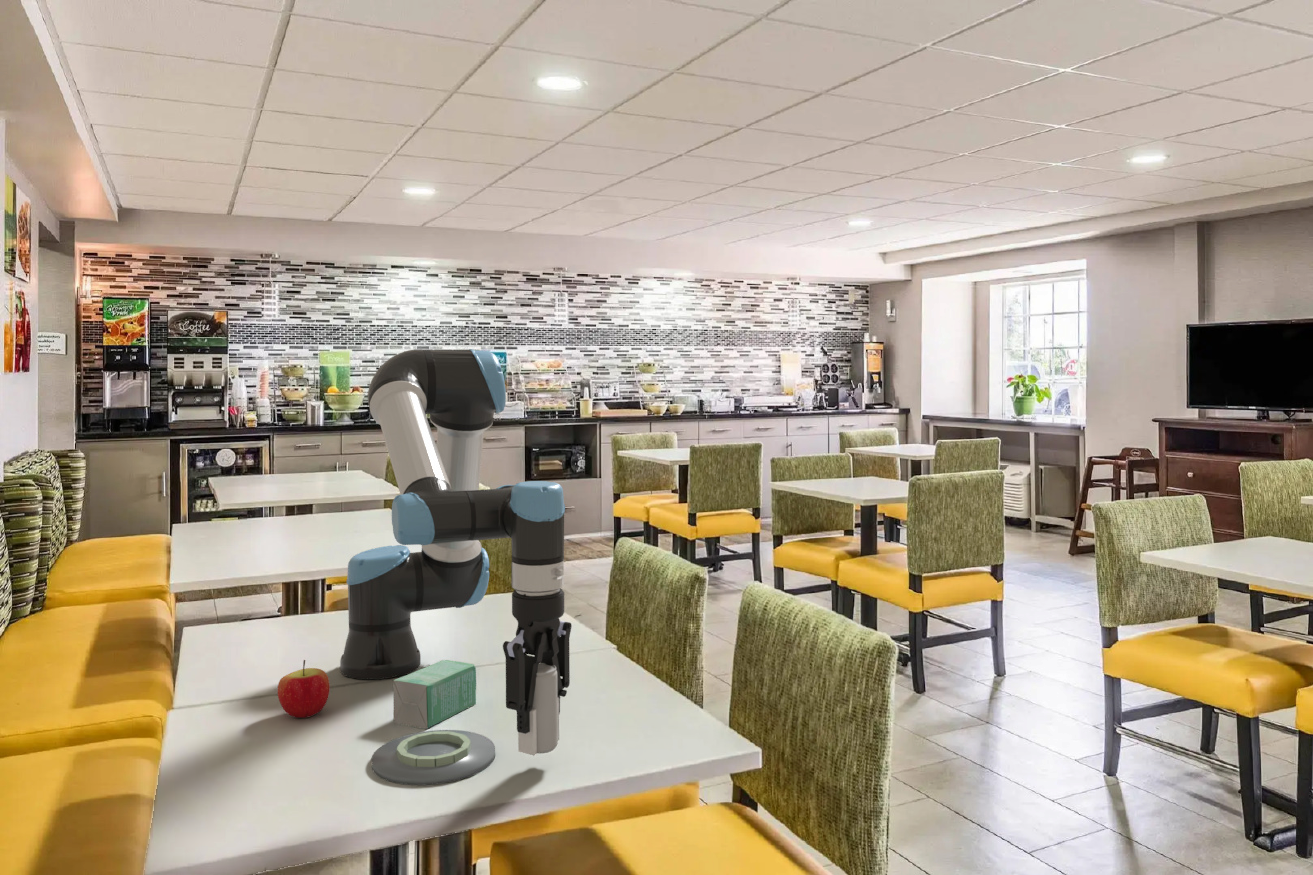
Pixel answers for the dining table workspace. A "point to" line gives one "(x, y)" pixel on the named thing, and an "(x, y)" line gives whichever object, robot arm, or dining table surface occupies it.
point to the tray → (433, 757)
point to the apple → (304, 692)
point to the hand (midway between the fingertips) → (539, 745)
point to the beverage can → (546, 708)
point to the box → (434, 693)
